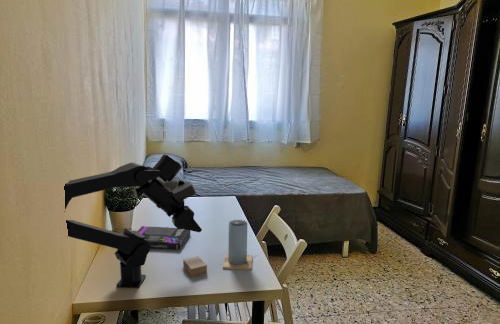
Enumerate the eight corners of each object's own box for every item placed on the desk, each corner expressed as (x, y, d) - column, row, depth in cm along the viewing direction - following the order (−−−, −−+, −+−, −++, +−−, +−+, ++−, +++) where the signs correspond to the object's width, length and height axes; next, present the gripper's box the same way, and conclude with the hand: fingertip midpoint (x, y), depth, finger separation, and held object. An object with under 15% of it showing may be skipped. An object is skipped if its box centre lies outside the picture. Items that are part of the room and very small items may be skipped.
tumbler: (243, 266, 113) (244, 226, 110) (225, 263, 114) (225, 224, 112) (249, 258, 118) (249, 220, 116) (232, 255, 120) (232, 218, 117)
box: (127, 250, 127) (180, 252, 125) (126, 240, 126) (180, 242, 124) (142, 234, 140) (191, 236, 138) (141, 226, 140) (190, 227, 138)
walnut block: (206, 274, 109) (206, 265, 109) (191, 278, 107) (191, 268, 106) (198, 264, 115) (198, 256, 115) (183, 268, 113) (183, 259, 112)
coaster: (251, 269, 112) (251, 267, 112) (222, 268, 112) (222, 267, 112) (252, 256, 121) (252, 255, 121) (225, 256, 121) (225, 254, 121)
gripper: (186, 181, 97) (224, 215, 104) (172, 168, 114) (206, 198, 120) (157, 212, 96) (198, 245, 102) (148, 194, 113) (183, 223, 119)
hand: (197, 225), depth 111 cm, fingers open, 9 cm apart
